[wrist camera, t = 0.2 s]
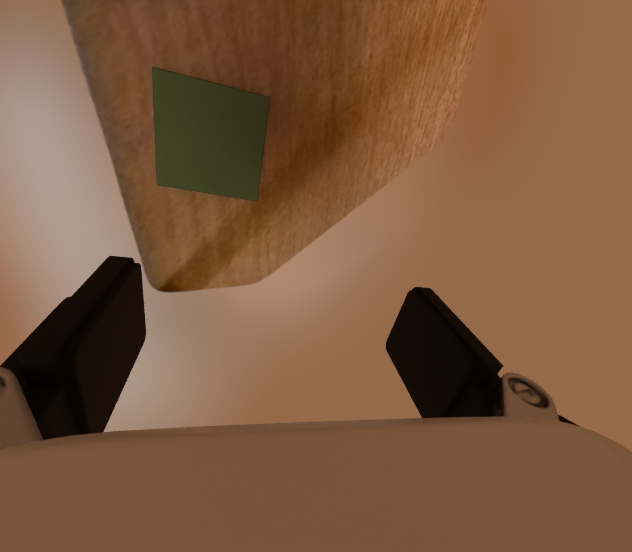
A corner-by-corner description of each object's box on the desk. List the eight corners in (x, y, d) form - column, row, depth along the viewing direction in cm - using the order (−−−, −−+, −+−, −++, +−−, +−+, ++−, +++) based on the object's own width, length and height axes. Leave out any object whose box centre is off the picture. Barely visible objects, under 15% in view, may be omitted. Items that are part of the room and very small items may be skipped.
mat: (153, 67, 30) (151, 66, 30) (269, 97, 33) (269, 97, 33) (158, 183, 36) (156, 185, 35) (256, 200, 39) (257, 201, 38)
